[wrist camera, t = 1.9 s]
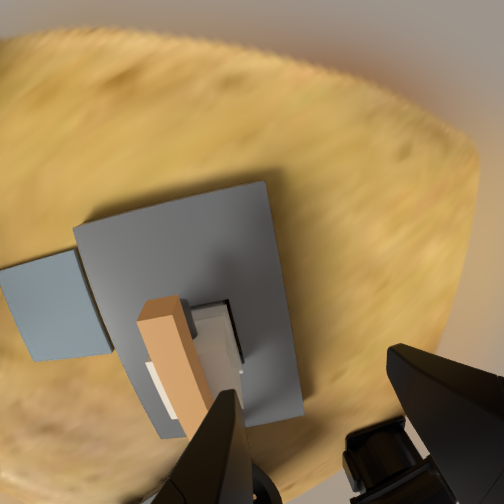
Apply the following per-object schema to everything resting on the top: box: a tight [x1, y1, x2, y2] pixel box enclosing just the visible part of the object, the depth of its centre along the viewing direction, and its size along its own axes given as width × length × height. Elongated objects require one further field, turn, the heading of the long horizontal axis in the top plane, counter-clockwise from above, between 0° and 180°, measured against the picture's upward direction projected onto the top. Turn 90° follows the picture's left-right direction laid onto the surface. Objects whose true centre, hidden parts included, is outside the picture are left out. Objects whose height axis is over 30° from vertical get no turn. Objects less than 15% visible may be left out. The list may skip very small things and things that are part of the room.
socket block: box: [73, 180, 305, 439], centre depth 19 cm, size 12×18×6 cm, turn 11°
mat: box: [0, 249, 113, 362], centre depth 20 cm, size 8×8×1 cm
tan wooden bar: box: [136, 294, 214, 442], centre depth 15 cm, size 2×15×2 cm, turn 11°
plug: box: [145, 299, 244, 419], centre depth 18 cm, size 5×6×6 cm
